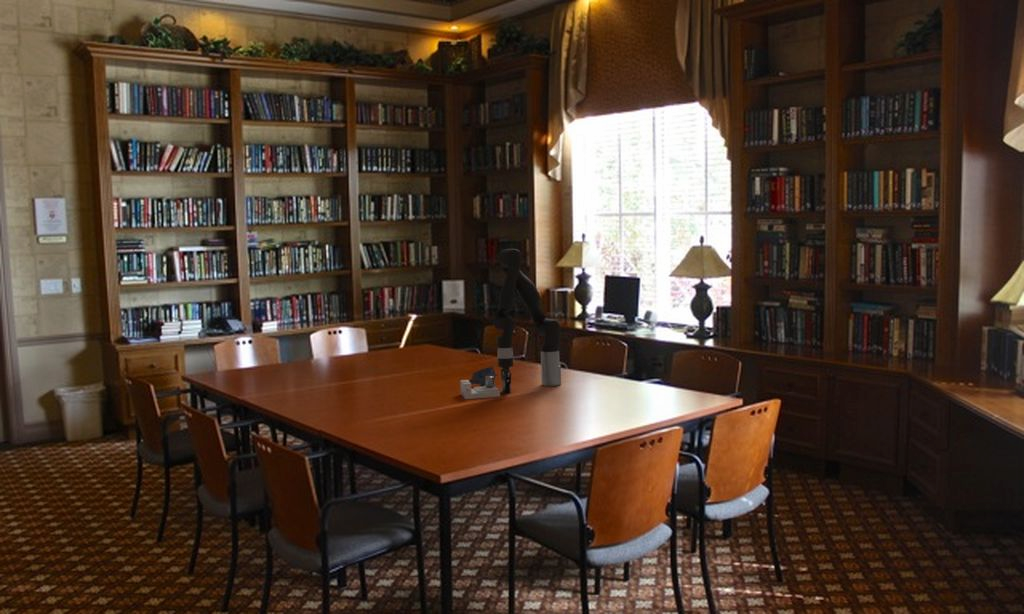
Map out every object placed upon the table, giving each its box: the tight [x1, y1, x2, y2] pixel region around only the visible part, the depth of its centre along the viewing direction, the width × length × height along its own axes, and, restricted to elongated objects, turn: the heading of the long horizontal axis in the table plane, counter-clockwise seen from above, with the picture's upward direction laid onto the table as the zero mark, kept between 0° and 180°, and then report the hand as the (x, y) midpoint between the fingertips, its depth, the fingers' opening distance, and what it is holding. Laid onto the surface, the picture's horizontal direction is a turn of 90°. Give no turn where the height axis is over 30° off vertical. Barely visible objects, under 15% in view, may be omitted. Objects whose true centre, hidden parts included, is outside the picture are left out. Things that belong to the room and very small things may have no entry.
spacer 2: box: [501, 381, 512, 394], centre depth 439 cm, size 4×4×5 cm
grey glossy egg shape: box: [485, 376, 496, 388], centre depth 438 cm, size 4×4×5 cm
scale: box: [460, 379, 501, 400], centre depth 434 cm, size 17×13×7 cm
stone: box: [468, 365, 498, 387], centre depth 458 cm, size 14×6×10 cm, turn 117°
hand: (506, 391), depth 440 cm, fingers closed on spacer 2, 4 cm apart
